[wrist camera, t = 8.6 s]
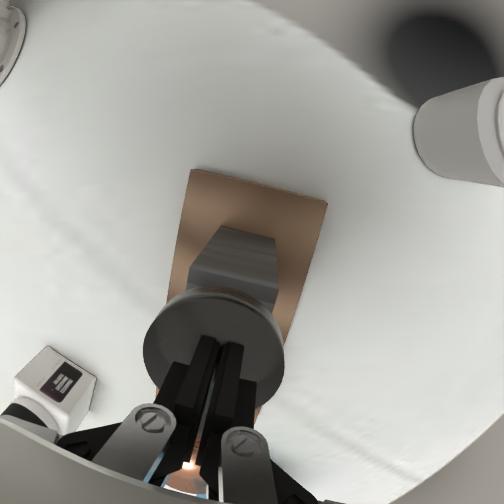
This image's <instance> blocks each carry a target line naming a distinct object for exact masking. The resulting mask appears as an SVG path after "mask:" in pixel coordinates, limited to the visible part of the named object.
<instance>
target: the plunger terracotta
mask: <svg viewBox="0 0 504 504" xmlns="http://www.w3.org/2000/svg"><path fill="white" fill-rule="evenodd" d="M200 440H201V439H200V438H196V441H195V445H194V449H193V453H192V456H191V460H190V463H186V462H184V463H183V467H182V469H180V470H179V471H176V472H174V473H171V474H169V478H168V480H167V482H166V485H168V486H170V487H172V488H174V489H177V490H180V491H183V492H187V493H193V494H206V486H207V483H206V482H205V481H204V480H203V479H202V478H201V476H200V475H199V471H200V467H201V466H198V465H195V461H196V457H197V453H198V449H199V445H200Z"/></svg>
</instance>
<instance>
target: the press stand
mask: <svg viewBox="0 0 504 504" xmlns="http://www.w3.org/2000/svg"><path fill="white" fill-rule="evenodd" d="M327 205H328V203H327V202H325V201H323V200H319V199H315V198H312V197H308V196H304V195H301V194H297V193H293V192H289V191H286V190H282V189H278V188H274V187H270V186H266V185H262V184H258V183H254V182H250V181H246V180H241V179H237V178H233V177H228V176H224V175H220V174H215V173H211V172H206V171H201V170H197V169H191V171H190V176H189V180H188V185H187V190H186V194H185V199H184V204H183V209H182V214H181V220H180V225H179V230H178V236H177V241H176V247H175V253H174V258H173V264H172V271H171V277H170V283H169V290H168V296H167V303H168V302H169V301H170V300H171V299H172V298H174V297H175V296H176V295H178V294H180V293H182V292H184V291H186V290H189V289H192V288H196V287H201V286H222V287H228V288H232V289H235V290H238V291H241V292H243V293H246V294H248V295H250V296H251V297H253V298H255V299H256V300H257V301H259V302H260V303H261V304H263V305H264V306H265V307H266V308H267V309H268V310H269V311H270V313H271V314H272V315H273V317H274V318H275V320H276V322H277V323H278V325H279V328H280V330H281V334H282V338H283V346H284V343H285V340H286V337H287V334H288V331H289V328H290V325H291V322H292V319H293V316H294V313H295V310H296V307H297V304H298V301H299V298H300V295H301V292H302V289H303V285H304V282H305V279H306V276H307V273H308V270H309V266H310V263H311V260H312V256H313V253H314V250H315V246H316V243H317V240H318V236H319V233H320V229H321V226H322V223H323V219H324V215H325V212H326V208H327ZM167 303H166V304H167ZM158 392H159V389H158V387H157V388H156V397H157V394H158ZM260 409H261V406H260V407H258V408H257V409H255V417H254V424H255V422H256V419H257V416H258V414H259V411H260ZM205 419H206V415H205V414H203V415H202V419H201V423H200V426H199V430H198V434H197V438H200V439H201V436H202V432H203V428H204V424H205Z"/></svg>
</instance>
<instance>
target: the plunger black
mask: <svg viewBox="0 0 504 504" xmlns="http://www.w3.org/2000/svg"><path fill="white" fill-rule="evenodd" d="M201 335H204V336H208V337H212V338H215V342H216V343H220V345H219V349H218V353H217V358H216V362H215V366H214V370H213V375H212V379H211V383H210V388H209V392H208V396H207V400H206V404H205V408H204V411H203V414H205V415H207V411H208V407H209V403H210V399H211V395H212V391H213V388H214V384H215V380H216V376H217V372H218V368H219V364H220V360H221V356H222V352H223V348H224V345H228V346H230V343H231V342H232V343H236V344H240V345H244V353H243V359H242V366H241V373H240V378H241V379H246V380H250V381H255V382H257V390H256V403H255V409H257V408H258V407H260V406H262V405H263V404H265V403H266V402H267V401H268V400H269V399H270V398H271V397H272V396H273V395H274V394H275V393H276V391H277V390H278V388H279V386H280V384H281V382H282V379H283V376H284V368H285V367H284V350H283V338H282V334H281V330H280V328H279V325H278V323H277V322H276V320H275V318H274V317H273V315H272V314H271V313H270V311H269V310H268V309H267V308H266V307H265V306H264V305H263V304H261V303H260V302H259V301H257V300H256V299H255V298H253V297H251V296H250V295H248V294H246V293H243V292H241V291H238V290H235V289H232V288H228V287H222V286H201V287H196V288H192V289H189V290H186V291H184V292H182V293H180V294H178V295H176V296H175V297H174V298H172V299H171V300H170V301H169V302H168V303H167V304H166V305H165V306H164V307H163V309H162V310H161V311H160V313H159V314H158V316H157V317H156V319H155V320H154V322H153V323H152V324H151V326H150V328H149V329H148V331H147V333H146V336H145V339H144V344H143V358H144V363H145V366H146V369H147V372H148V374H149V376H150V378H151V379H152V381H153V382H154V384H155V385H156V386H157V387H158V389H159V390H160V388H161V386H162V384H163V382H164V380H165V378H166V375H167V373H168V371H169V369H170V367H171V365H172V363H173V362H174V361H176V362H179V363H183V364H186V365H190V363H191V360H192V358H193V355H194V353H195V350H196V347H197V345H198V342H199V340H200V337H201Z"/></svg>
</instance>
